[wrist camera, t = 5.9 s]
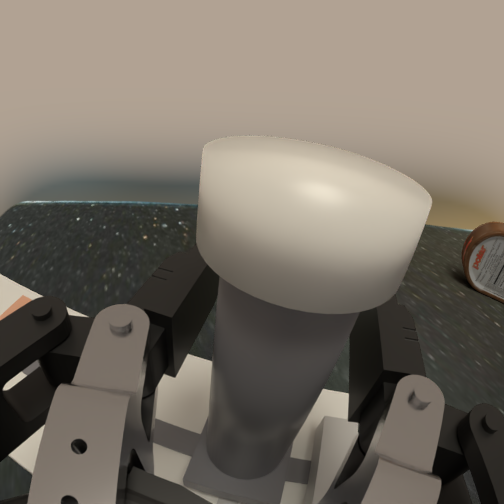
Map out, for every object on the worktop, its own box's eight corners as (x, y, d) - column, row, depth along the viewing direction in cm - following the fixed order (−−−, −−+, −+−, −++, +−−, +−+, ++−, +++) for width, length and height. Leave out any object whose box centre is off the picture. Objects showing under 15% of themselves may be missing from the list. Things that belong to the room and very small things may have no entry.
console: (343, 413, 16) (365, 379, 14) (321, 576, 7) (351, 574, 6) (4, 293, 19) (-8, 257, 18) (-73, 369, 11) (-96, 334, 9)
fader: (297, 424, 13) (402, 164, 7) (279, 510, 9) (473, 248, 3) (212, 402, 13) (241, 127, 7) (178, 483, 9) (147, 172, 4)
